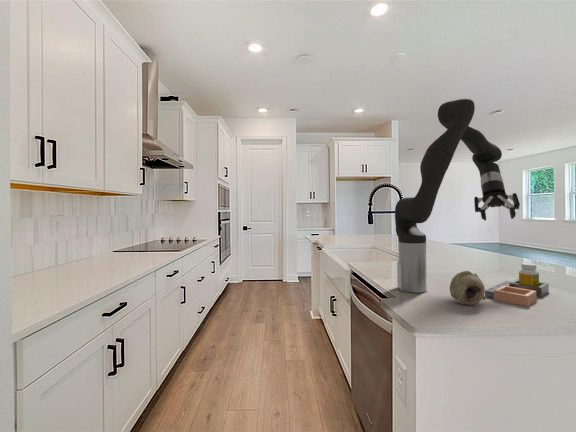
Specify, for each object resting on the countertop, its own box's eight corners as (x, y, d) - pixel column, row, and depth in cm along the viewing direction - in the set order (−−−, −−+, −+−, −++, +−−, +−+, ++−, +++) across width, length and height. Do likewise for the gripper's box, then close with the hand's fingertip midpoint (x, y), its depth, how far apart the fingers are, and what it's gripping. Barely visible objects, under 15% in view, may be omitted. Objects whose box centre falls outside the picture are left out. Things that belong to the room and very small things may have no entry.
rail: (529, 305, 87) (529, 295, 87) (484, 296, 96) (484, 287, 96) (548, 292, 100) (548, 283, 100) (507, 285, 109) (507, 277, 109)
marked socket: (527, 306, 86) (527, 296, 86) (493, 299, 93) (493, 290, 93) (536, 300, 91) (536, 291, 91) (503, 294, 98) (503, 285, 98)
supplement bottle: (522, 289, 105) (522, 262, 104) (541, 292, 100) (541, 264, 100) (516, 291, 102) (516, 263, 101) (535, 295, 97) (535, 266, 97)
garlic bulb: (443, 301, 92) (443, 269, 92) (462, 297, 96) (462, 267, 95) (473, 310, 84) (472, 275, 83) (492, 306, 87) (492, 272, 87)
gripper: (471, 182, 121) (476, 214, 112) (514, 176, 114) (523, 211, 105) (471, 193, 126) (476, 225, 117) (513, 188, 119) (521, 222, 111)
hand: (498, 218), depth 111 cm, fingers open, 8 cm apart
